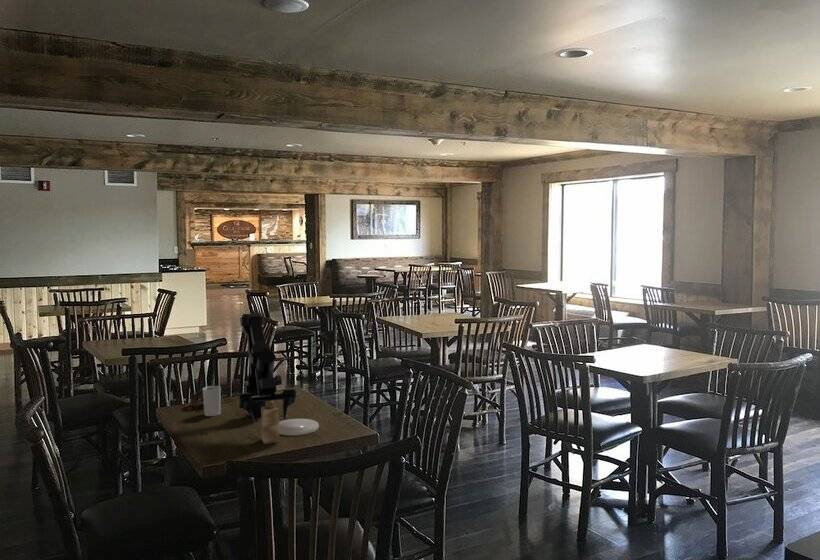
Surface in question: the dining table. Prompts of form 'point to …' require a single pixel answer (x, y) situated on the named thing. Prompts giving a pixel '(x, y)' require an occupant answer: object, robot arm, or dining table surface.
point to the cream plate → (297, 427)
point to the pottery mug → (196, 396)
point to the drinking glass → (212, 400)
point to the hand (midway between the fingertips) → (270, 420)
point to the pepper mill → (270, 423)
